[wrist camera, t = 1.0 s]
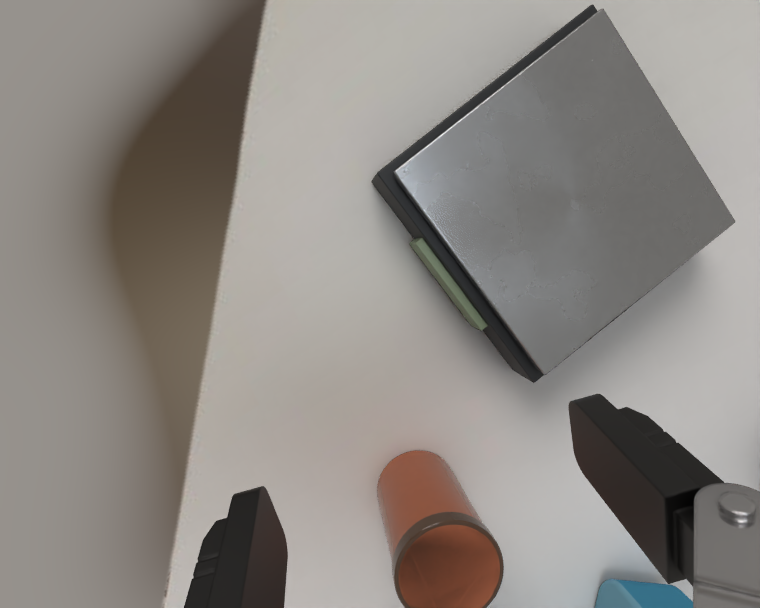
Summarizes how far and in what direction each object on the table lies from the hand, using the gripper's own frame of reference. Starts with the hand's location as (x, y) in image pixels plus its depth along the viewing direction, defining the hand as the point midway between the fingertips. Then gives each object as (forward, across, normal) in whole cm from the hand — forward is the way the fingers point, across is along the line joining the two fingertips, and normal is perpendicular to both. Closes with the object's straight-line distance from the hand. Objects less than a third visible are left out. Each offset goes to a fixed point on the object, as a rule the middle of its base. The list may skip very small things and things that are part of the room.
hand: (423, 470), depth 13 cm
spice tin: (+14, 0, +12) cm, 19 cm away
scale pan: (+14, -11, -2) cm, 18 cm away
